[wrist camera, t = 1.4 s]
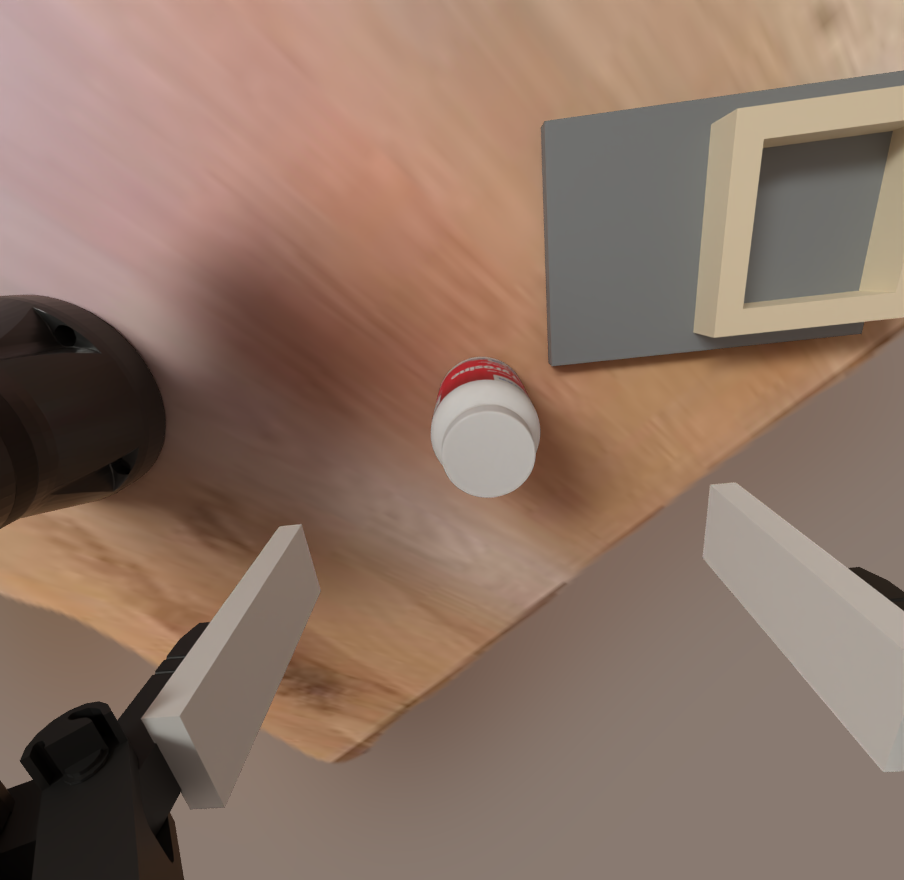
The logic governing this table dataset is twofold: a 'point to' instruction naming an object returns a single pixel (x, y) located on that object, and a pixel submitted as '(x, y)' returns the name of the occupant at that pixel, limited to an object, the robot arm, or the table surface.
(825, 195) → the socket board
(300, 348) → the table surface
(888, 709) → the robot arm
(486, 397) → the pill bottle
